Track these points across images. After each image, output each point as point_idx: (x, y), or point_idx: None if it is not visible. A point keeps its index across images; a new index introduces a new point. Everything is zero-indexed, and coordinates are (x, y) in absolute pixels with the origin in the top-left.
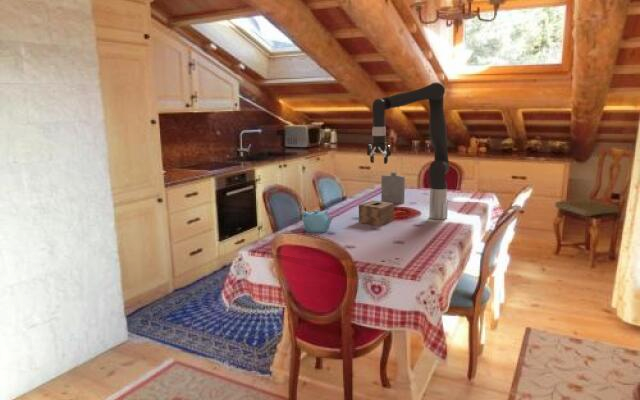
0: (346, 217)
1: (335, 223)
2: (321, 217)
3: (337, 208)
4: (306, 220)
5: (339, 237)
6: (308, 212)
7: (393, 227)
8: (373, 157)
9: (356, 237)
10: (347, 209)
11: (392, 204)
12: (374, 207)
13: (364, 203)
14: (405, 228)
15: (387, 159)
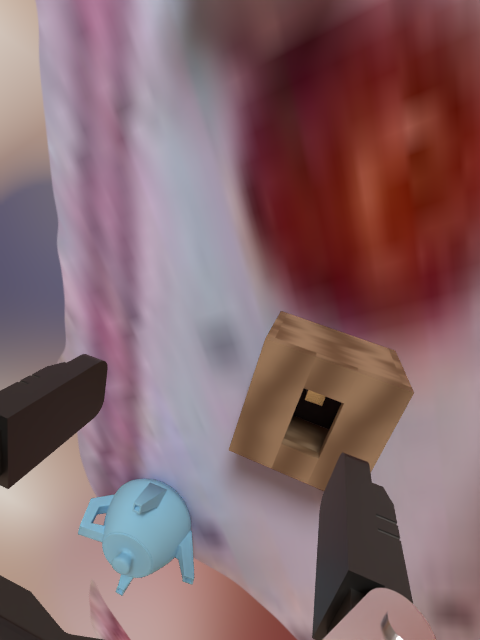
0: (178, 340)
1: (176, 430)
2: (157, 569)
3: (77, 188)
4: (129, 583)
5: (249, 569)
6: (93, 530)
7: (409, 454)
8: (31, 420)
9: (299, 569)
10: (123, 192)
11: (405, 404)
12: (317, 486)
13: (246, 420)
14: (468, 462)
15: (398, 557)
